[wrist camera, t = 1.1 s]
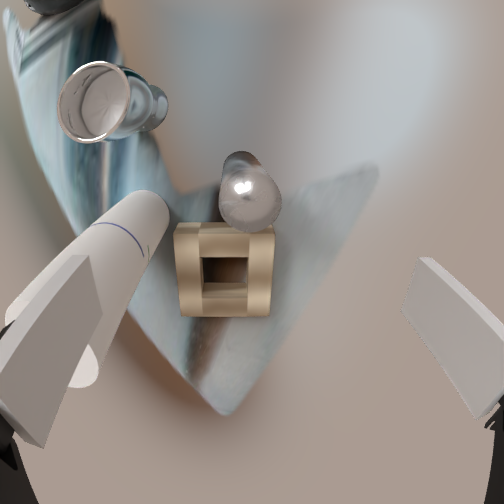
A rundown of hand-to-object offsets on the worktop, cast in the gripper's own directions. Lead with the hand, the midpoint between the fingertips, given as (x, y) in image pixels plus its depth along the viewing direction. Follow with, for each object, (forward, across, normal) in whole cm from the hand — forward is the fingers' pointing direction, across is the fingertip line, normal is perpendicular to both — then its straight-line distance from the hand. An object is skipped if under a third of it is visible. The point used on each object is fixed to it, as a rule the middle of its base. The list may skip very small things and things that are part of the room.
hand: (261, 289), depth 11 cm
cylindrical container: (+27, -12, -6) cm, 30 cm away
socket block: (+27, -2, -13) cm, 30 cm away
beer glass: (+27, -12, +8) cm, 30 cm away
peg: (+27, 0, 0) cm, 27 cm away
